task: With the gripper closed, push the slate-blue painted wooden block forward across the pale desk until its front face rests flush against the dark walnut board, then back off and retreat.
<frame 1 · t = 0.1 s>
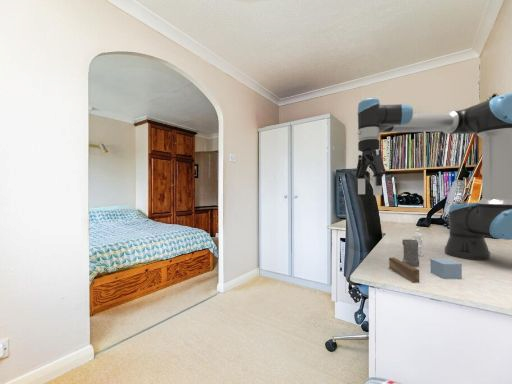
hand: (369, 194, 92), 28 cm above the table, fingers open, 13 cm apart
stone: (410, 265, 93), on the table
block: (445, 275, 82), on the table
action figure: (415, 255, 107), on the table
board: (403, 274, 83), on the table
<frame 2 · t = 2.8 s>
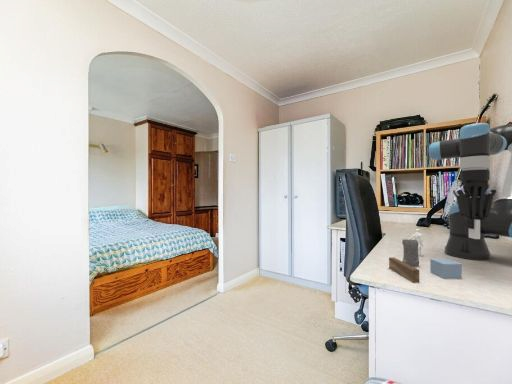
hand: (474, 238, 81), 13 cm above the table, fingers closed
nothing on the table moved.
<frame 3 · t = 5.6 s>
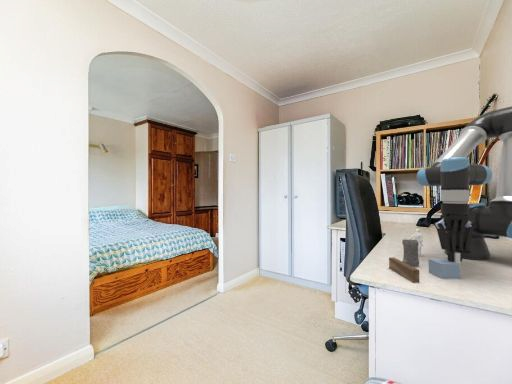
hand: (454, 270, 82), 2 cm above the table, fingers closed
block: (443, 275, 82), on the table, touching gripper
everything else where it was.
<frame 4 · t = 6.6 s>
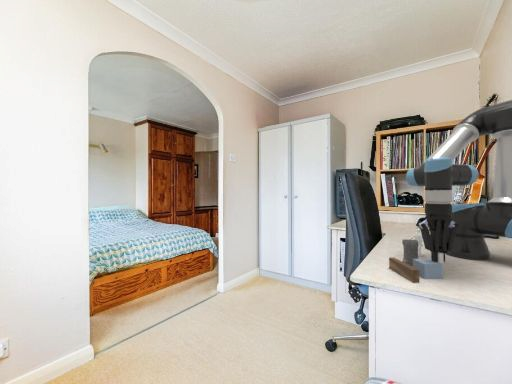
hand: (438, 271, 82), 2 cm above the table, fingers closed
block: (427, 275, 82), on the table, touching gripper
everything else where it was.
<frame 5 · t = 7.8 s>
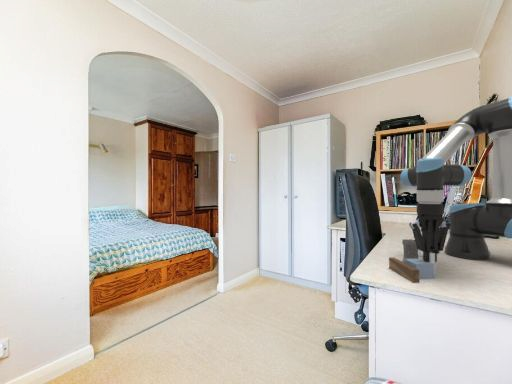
hand: (429, 271, 82), 2 cm above the table, fingers closed
block: (418, 275, 82), on the table, touching gripper
everything else where it was.
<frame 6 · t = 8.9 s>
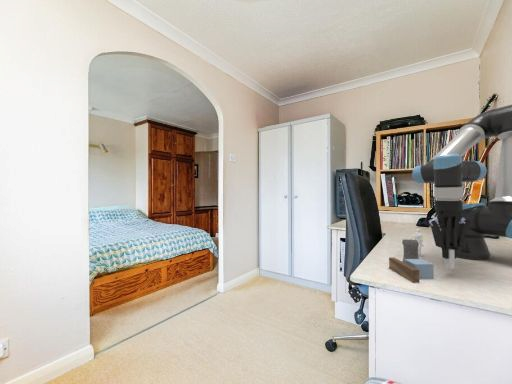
hand: (449, 267, 82), 3 cm above the table, fingers closed
block: (418, 275, 82), on the table
everything else where it was.
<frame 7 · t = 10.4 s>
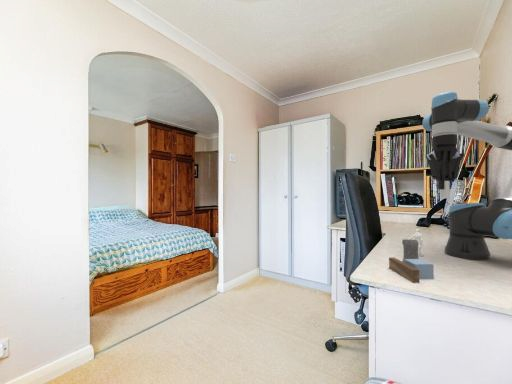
hand: (444, 198, 89), 26 cm above the table, fingers closed
nothing on the table moved.
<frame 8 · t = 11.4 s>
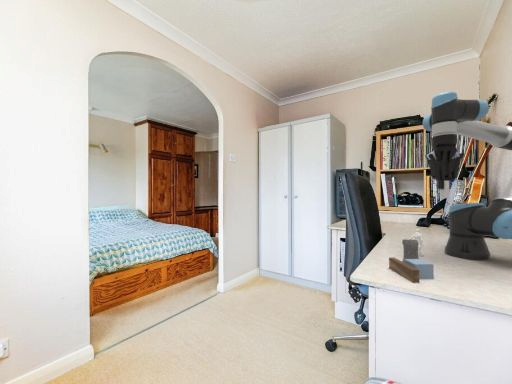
hand: (444, 197, 89), 26 cm above the table, fingers closed
nothing on the table moved.
at the end: block inside the target area on the table beside the board (0.9 cm from its centre), on the table; block tilted 0°; block moved 9.2 cm from its start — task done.
